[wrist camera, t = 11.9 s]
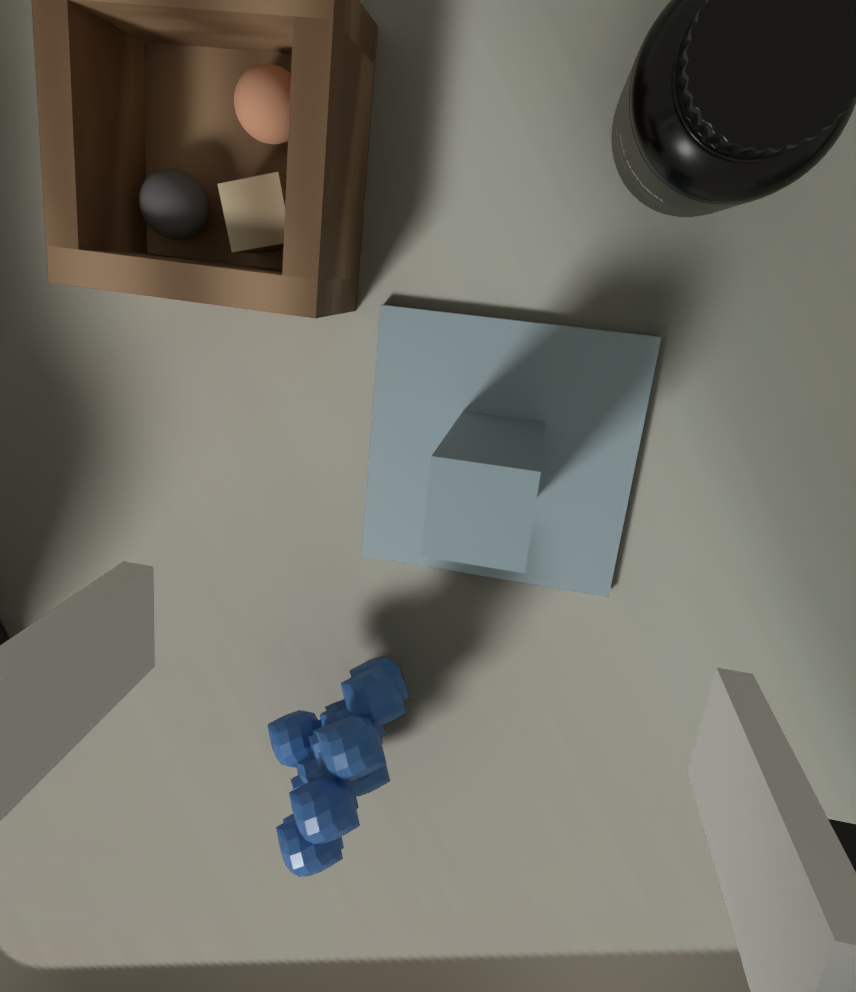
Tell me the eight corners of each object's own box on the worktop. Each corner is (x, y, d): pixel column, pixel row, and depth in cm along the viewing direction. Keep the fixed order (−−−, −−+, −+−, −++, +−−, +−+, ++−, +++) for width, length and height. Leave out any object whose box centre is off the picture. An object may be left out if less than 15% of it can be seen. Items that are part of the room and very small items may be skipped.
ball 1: (162, 237, 34) (126, 234, 31) (161, 170, 33) (124, 160, 30) (220, 244, 33) (189, 242, 31) (221, 176, 33) (189, 167, 30)
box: (129, 280, 36) (48, 282, 30) (122, 6, 32) (28, -50, 26) (355, 310, 34) (315, 318, 28) (377, 26, 30) (336, -31, 25)
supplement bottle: (585, 192, 31) (600, 146, 20) (648, 18, 28) (706, -150, 17) (737, 241, 30) (841, 222, 19) (813, 67, 28) (984, -70, 17)
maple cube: (257, 253, 33) (232, 252, 31) (244, 191, 33) (217, 183, 30) (313, 244, 33) (291, 241, 30) (301, 180, 32) (278, 171, 29)
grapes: (339, 579, 39) (249, 705, 27) (451, 630, 38) (407, 777, 27) (278, 736, 43) (178, 902, 31) (379, 783, 42) (314, 967, 31)
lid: (366, 548, 38) (303, 638, 29) (385, 304, 34) (319, 315, 25) (607, 588, 36) (624, 698, 27) (658, 335, 32) (698, 360, 23)
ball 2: (250, 146, 32) (220, 134, 29) (252, 71, 31) (222, 51, 28) (313, 152, 31) (289, 140, 29) (317, 77, 31) (293, 57, 28)
